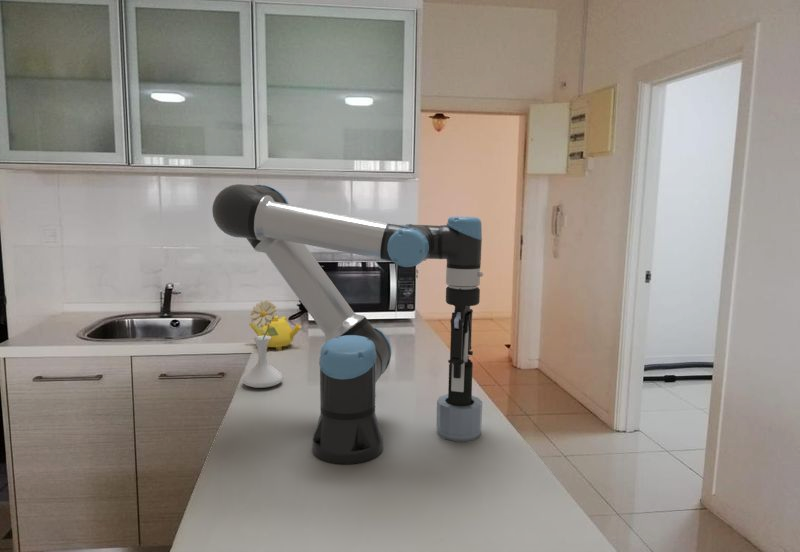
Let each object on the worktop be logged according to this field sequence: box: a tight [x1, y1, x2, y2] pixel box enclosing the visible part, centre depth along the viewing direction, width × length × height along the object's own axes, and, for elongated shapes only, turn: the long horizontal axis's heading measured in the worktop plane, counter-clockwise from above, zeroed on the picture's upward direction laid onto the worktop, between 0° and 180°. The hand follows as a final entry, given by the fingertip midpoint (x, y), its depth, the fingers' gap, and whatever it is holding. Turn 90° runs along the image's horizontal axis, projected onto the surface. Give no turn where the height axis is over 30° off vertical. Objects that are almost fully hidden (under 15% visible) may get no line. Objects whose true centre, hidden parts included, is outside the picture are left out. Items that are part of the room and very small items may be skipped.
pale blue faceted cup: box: [436, 393, 483, 443], centre depth 129 cm, size 10×10×8 cm
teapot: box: [248, 315, 302, 351], centre depth 201 cm, size 20×18×11 cm
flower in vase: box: [242, 299, 284, 389], centre depth 159 cm, size 13×11×25 cm
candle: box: [447, 326, 474, 406], centre depth 128 cm, size 5×5×25 cm
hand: (460, 386), depth 128 cm, fingers closed on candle, 5 cm apart
